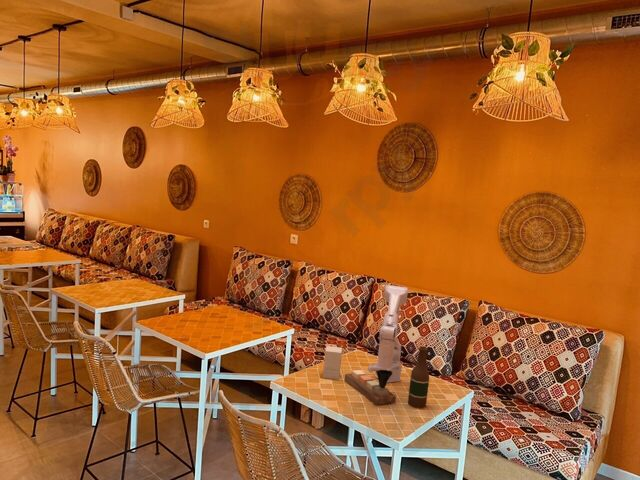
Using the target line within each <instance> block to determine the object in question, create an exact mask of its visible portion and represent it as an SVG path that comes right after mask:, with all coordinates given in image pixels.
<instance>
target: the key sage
mask: <svg viewBox="0 0 640 480" xmlns="http://www.w3.org/2000/svg"><path fill="white" fill-rule="evenodd" d="M366 387H367V388H369V389H370V390H371V391H372V390H374V387H379V381H377V380H374V381H367V383H366Z"/></svg>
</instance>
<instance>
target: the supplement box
mask: <svg viewBox="0 0 640 480" xmlns="http://www.w3.org/2000/svg"><path fill="white" fill-rule="evenodd" d="M342 353H343V347H338V346H329V345H326V348H325V353H324V362H323V364H324V365H323V373H322V374H323V376H322V378H323V379H329V380H340V375H341V366H342V365H341V364H342V357H343V356H342V355H343V354H342Z"/></svg>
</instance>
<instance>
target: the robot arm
mask: <svg viewBox="0 0 640 480" xmlns="http://www.w3.org/2000/svg"><path fill="white" fill-rule="evenodd" d="M384 288H385V289H384V301H385V302H387V303H388V310H387V311H386V312H385V313H384V317H383V320H382V321H383V322H382V326H380V330H379V347H378V351H377V352H378V353H377V357H378V358H377V363H375V364H372V365H368V367H367V371H368V372H369V373H373V372H375V373H376V374H375V375H374V377H375V378H377V379H378V383H379V387H381V388H386V386H387V383H395V382H402V379H401V374H402V363H401V361H400V359H401V352H402V345H401V343H400V342H399V340H398V339H397V334H398V326H399V325H398V324H399V316H400V308H401V307H402V305H405V304H406V303H407V301H408V293H409V288H408V286H396V285H390V284H386V285H385V287H384Z"/></svg>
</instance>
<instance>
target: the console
mask: <svg viewBox="0 0 640 480" xmlns="http://www.w3.org/2000/svg"><path fill="white" fill-rule="evenodd" d="M373 381H375V380H374V379H373ZM344 382H346V383H347V384H348V385H349V386H351V387H352V388H353V389H355V391H357V392H358V393H359V394H360V395H362V396H363V397H365V398H366V399H367V400H368V401H370V402H371V403H372V404H373V405H374V406H376V407H379V406H386V405H394V404H396V401H397V396H396V395H395V394H393V393H392V392H390V391H389V396H384V397H379V396H378V395H377V394H375V393H374V390H372V391H371V390H370V389H369V388H367V387H366V385H363V384H362V383H361V382H359V379H356V378H354V377H353V376H352V372H351V373H345V374H344Z"/></svg>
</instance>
